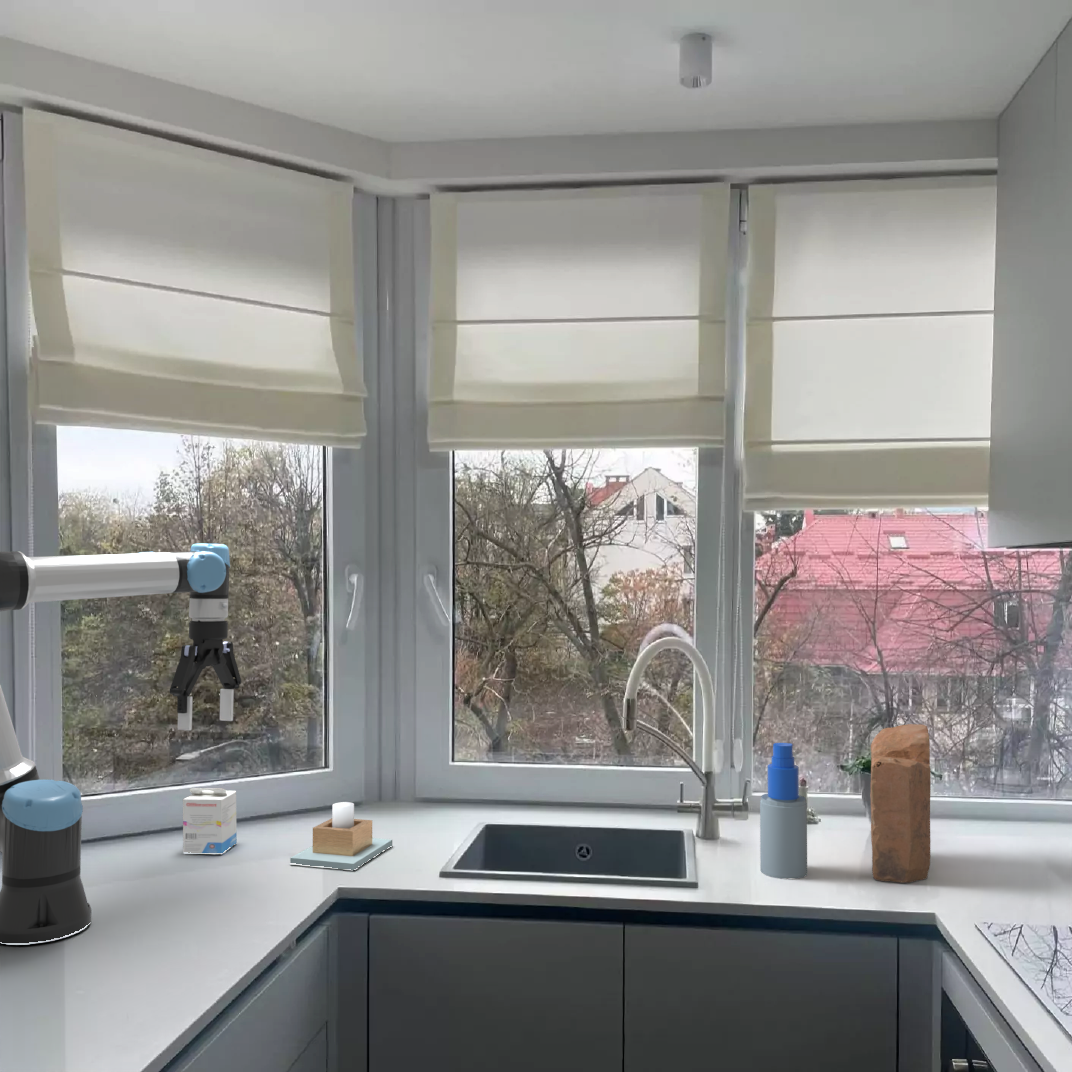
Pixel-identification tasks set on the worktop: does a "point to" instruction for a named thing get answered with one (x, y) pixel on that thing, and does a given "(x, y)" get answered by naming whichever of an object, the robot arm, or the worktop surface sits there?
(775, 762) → the spray bottle
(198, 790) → the ink box
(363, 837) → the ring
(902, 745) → the stone
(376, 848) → the post stand
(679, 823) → the worktop surface
